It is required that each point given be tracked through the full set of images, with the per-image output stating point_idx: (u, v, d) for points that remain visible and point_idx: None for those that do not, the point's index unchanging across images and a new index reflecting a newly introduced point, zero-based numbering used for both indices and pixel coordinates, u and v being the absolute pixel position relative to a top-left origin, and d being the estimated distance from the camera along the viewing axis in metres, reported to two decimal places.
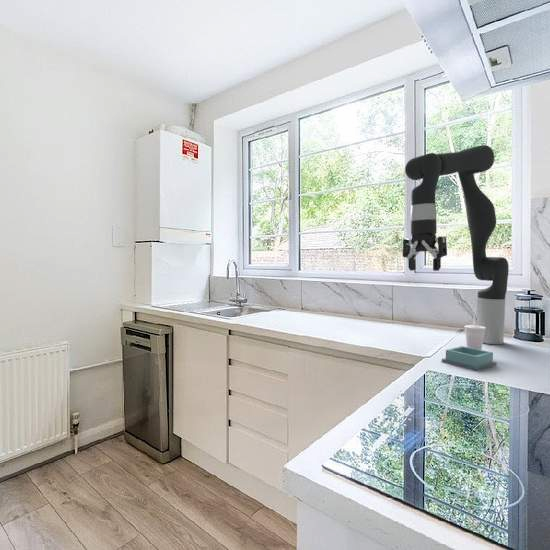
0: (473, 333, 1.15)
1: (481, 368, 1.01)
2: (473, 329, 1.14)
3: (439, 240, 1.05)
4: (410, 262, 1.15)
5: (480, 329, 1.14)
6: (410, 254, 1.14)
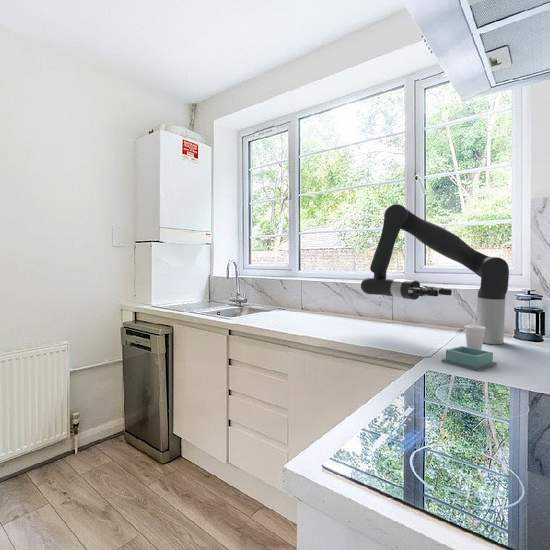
0: (473, 333, 1.15)
1: (481, 368, 1.01)
2: (473, 329, 1.14)
3: (411, 294, 1.30)
4: (444, 294, 1.30)
5: (480, 329, 1.14)
6: None
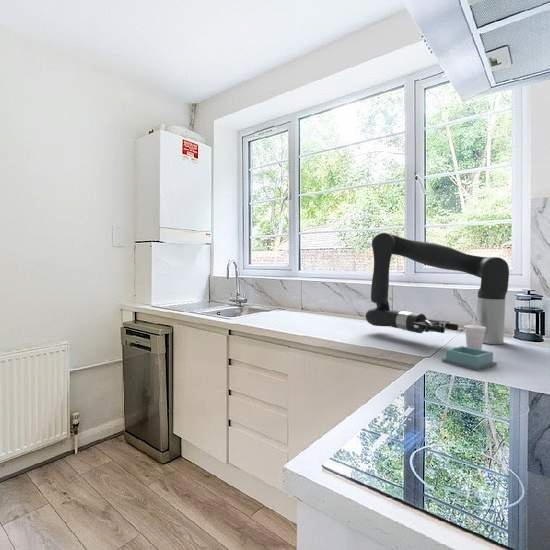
0: (473, 333, 1.15)
1: (481, 368, 1.01)
2: (473, 329, 1.14)
3: None
4: None
5: (480, 329, 1.14)
6: None
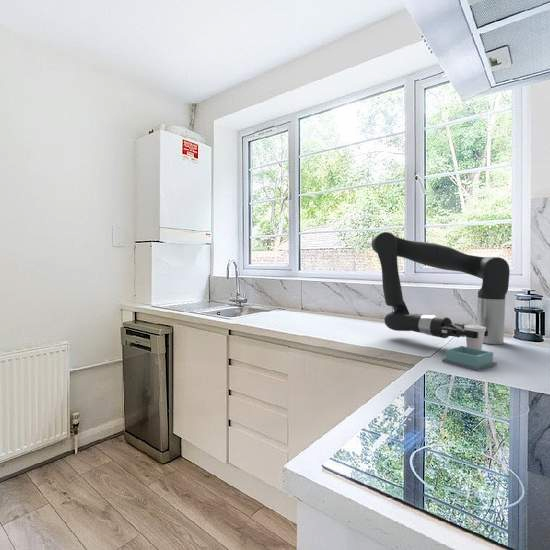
0: None
1: (481, 368, 1.01)
2: (473, 329, 1.14)
3: None
4: None
5: (480, 329, 1.14)
6: None
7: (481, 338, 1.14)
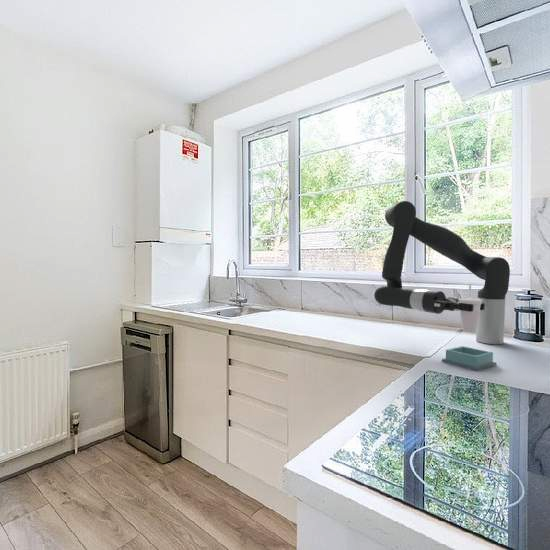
0: None
1: (481, 368, 1.01)
2: (468, 302, 1.04)
3: None
4: None
5: (476, 302, 1.04)
6: None
7: (477, 311, 1.05)
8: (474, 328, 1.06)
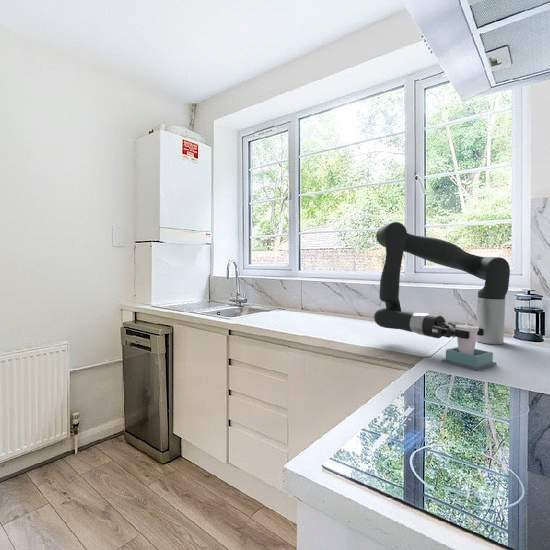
0: None
1: (481, 368, 1.01)
2: (464, 329, 1.05)
3: None
4: None
5: (472, 329, 1.04)
6: None
7: (473, 339, 1.05)
8: None
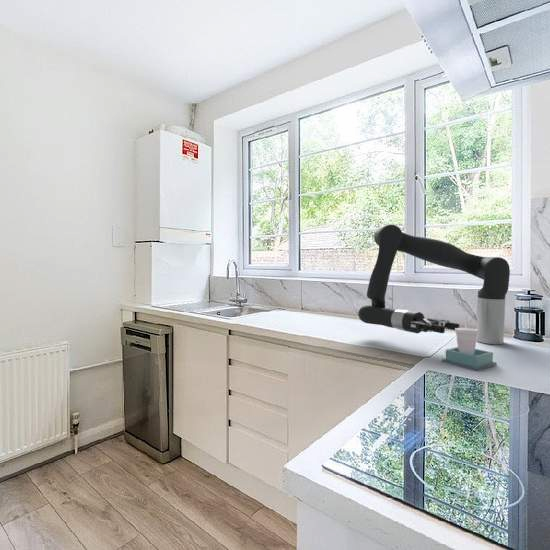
0: (465, 336, 1.05)
1: (481, 368, 1.01)
2: (465, 332, 1.05)
3: None
4: None
5: (472, 331, 1.04)
6: None
7: (473, 341, 1.05)
8: None
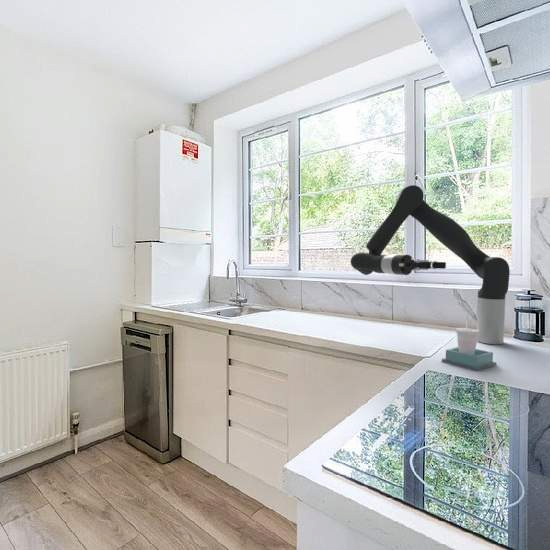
0: (466, 337, 1.05)
1: (481, 368, 1.01)
2: (466, 332, 1.04)
3: (402, 268, 1.20)
4: None
5: (473, 332, 1.04)
6: (430, 268, 1.22)
7: (474, 342, 1.05)
8: None
